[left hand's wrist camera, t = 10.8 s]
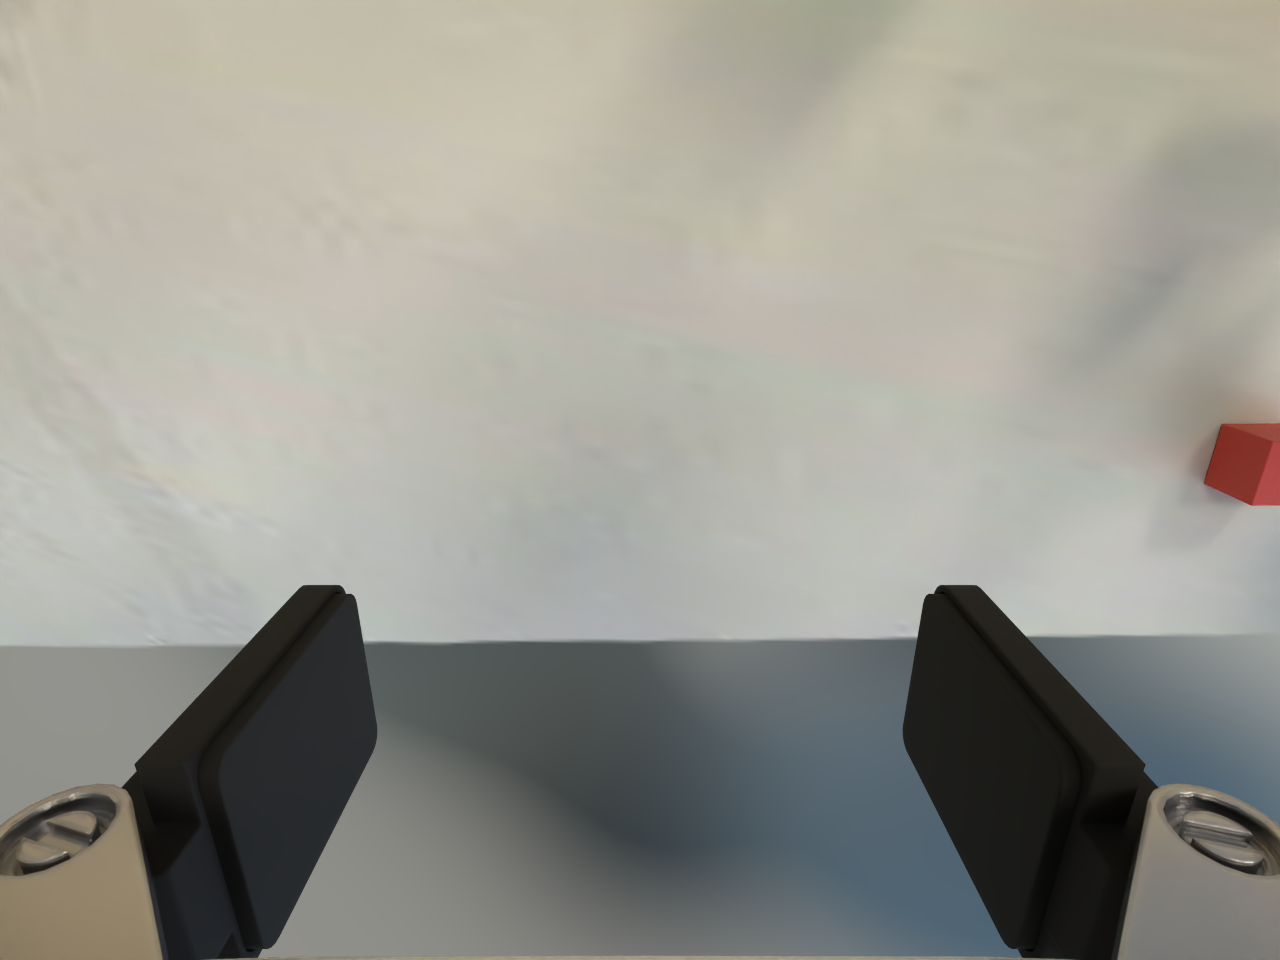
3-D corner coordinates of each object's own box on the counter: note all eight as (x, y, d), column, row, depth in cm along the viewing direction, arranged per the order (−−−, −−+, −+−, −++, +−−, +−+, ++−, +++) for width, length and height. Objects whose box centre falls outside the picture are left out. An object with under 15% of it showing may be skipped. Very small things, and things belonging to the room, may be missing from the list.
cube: (1203, 483, 50) (1251, 505, 46) (1221, 423, 49) (1272, 441, 45) (1263, 483, 50) (1316, 505, 46) (1283, 423, 49) (1340, 441, 45)
